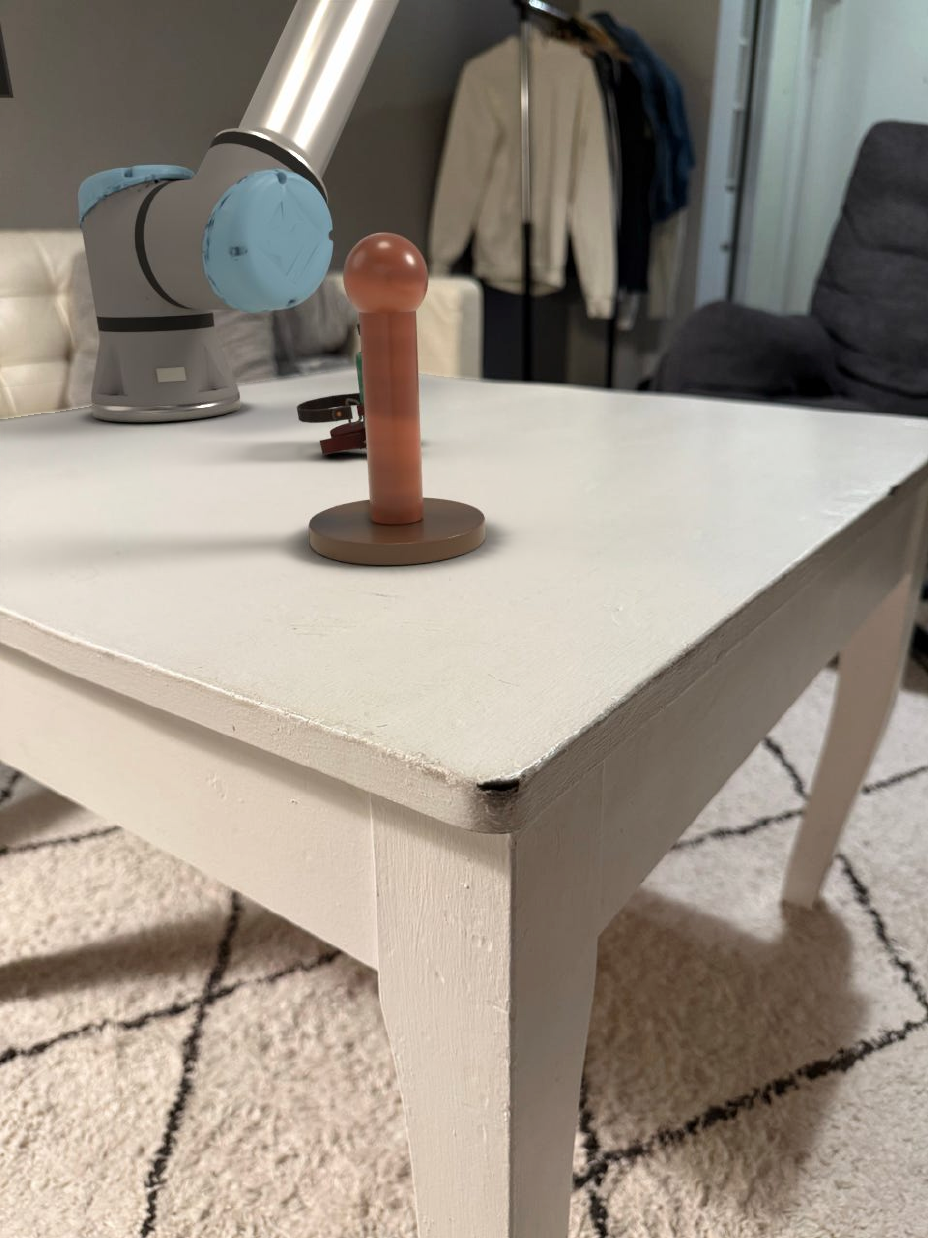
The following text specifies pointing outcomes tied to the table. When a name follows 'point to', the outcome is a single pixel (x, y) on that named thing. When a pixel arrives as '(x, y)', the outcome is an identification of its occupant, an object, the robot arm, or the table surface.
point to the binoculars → (339, 416)
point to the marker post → (392, 424)
